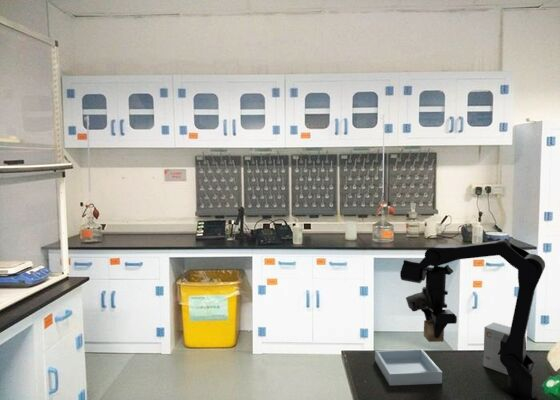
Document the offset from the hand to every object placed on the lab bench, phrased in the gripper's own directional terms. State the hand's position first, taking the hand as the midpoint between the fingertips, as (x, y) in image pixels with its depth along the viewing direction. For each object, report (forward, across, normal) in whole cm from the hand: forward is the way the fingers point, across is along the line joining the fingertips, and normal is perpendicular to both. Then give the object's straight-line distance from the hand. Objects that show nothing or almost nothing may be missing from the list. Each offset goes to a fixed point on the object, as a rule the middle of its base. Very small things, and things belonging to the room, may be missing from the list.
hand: (433, 334), depth 137 cm
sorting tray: (+12, +1, -8) cm, 14 cm away
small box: (+11, 0, +22) cm, 25 cm away
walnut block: (+1, 0, 0) cm, 1 cm away
